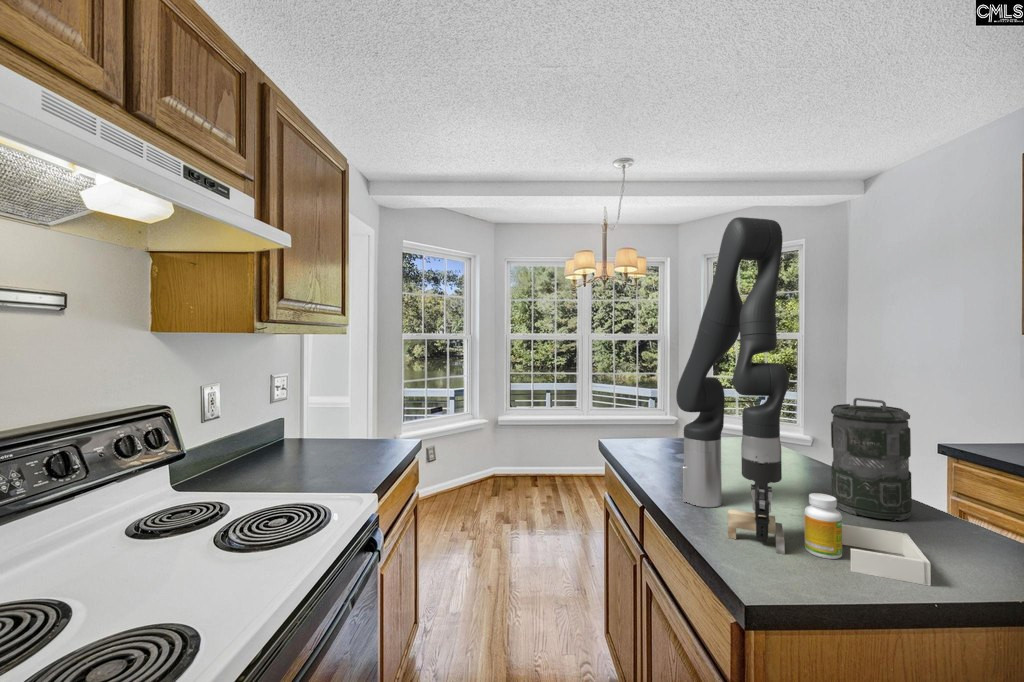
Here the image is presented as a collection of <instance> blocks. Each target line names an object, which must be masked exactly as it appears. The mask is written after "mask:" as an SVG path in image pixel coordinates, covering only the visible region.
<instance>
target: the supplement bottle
mask: <svg viewBox="0 0 1024 682" xmlns="http://www.w3.org/2000/svg"><path fill="white" fill-rule="evenodd" d="M808 503H809V505H807V506H806V507H805V508H804V548H805V550H806V551H807V552H808V553H809V554H811V555H813V556H816V557H818V558H821V559H822V558H823V559H829V560H830V559H831V560H836V559H837V560H838V559H840V558H841V557H842V556H843V545H842V524H843V516H842V514H841V512H840V511H839V510H838V509H836V508H838V507H837V500H836V498H835V497H833V496H832V495H830V494H825V493H818V492H816V493H815V492H814V493H813V492H812V493H809V494H808Z"/></svg>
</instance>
